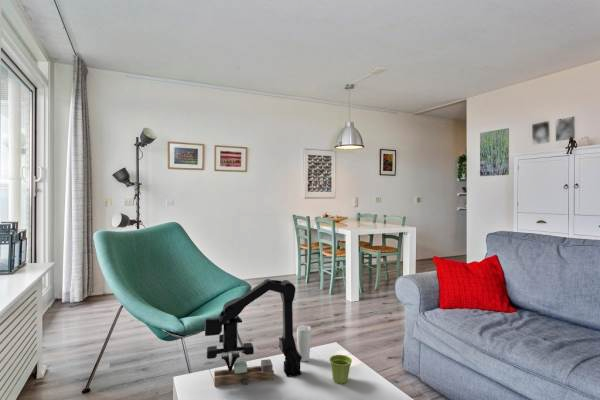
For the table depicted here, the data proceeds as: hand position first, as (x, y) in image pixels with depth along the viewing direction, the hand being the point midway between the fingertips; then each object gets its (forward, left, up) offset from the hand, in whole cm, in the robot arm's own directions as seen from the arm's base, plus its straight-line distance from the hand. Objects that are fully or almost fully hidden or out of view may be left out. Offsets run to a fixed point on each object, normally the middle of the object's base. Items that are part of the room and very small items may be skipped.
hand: (230, 371), depth 147 cm
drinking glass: (-35, -12, -4) cm, 37 cm away
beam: (-6, 0, -4) cm, 7 cm away
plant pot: (-45, +10, -4) cm, 46 cm away
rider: (-4, 0, -2) cm, 4 cm away
